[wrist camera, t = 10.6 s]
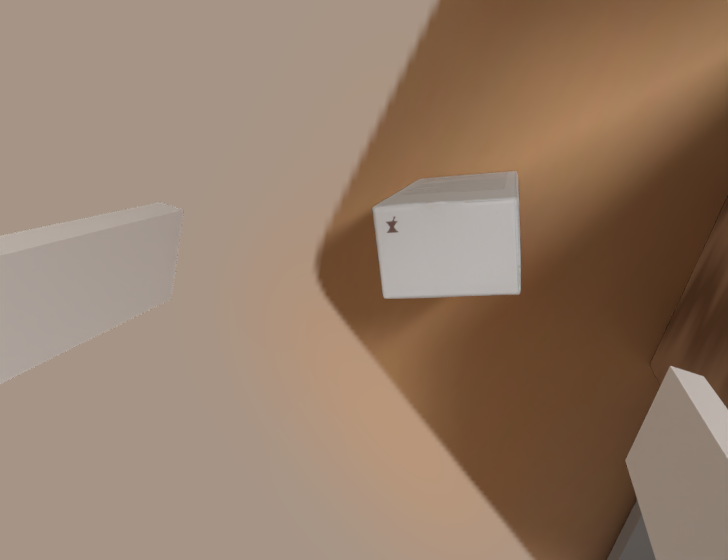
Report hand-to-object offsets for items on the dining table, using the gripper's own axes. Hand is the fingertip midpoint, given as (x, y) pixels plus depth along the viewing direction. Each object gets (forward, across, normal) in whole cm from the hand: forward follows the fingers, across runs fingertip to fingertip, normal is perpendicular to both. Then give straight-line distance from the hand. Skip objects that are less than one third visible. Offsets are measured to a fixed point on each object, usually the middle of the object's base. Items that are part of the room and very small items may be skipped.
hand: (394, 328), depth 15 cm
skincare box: (+21, 0, 0) cm, 21 cm away
